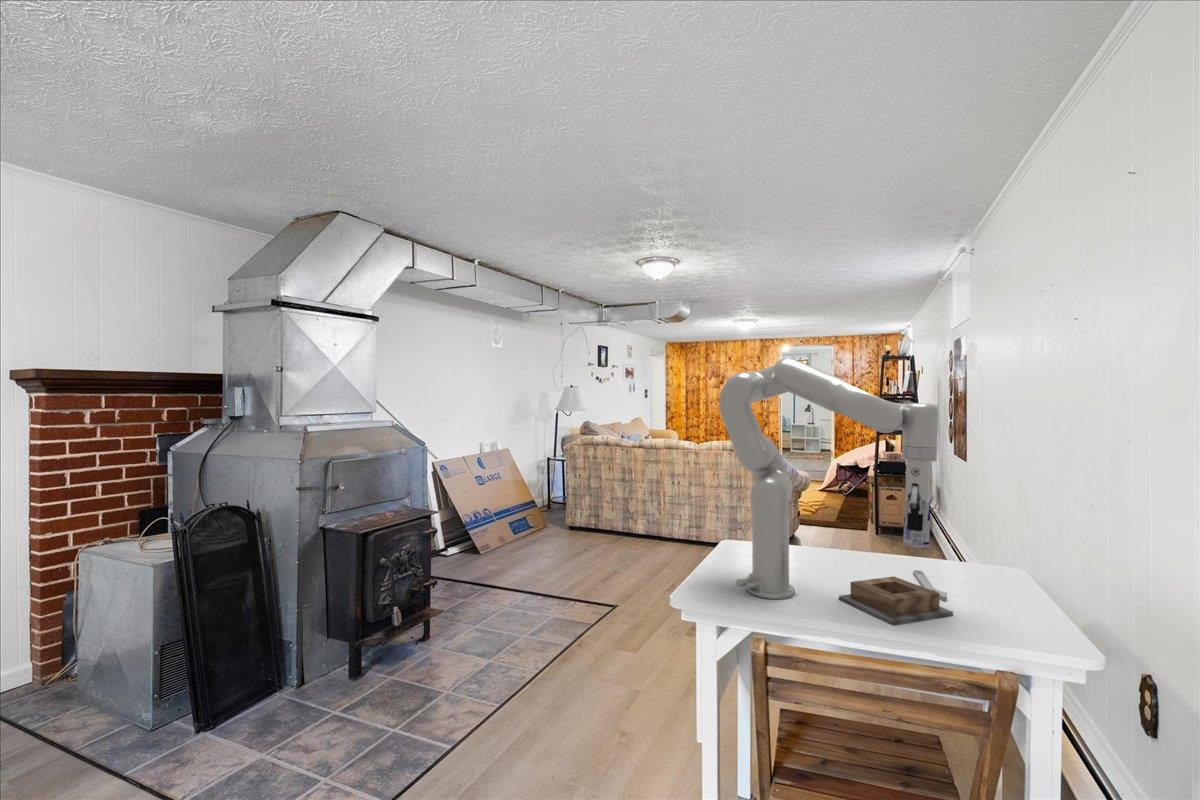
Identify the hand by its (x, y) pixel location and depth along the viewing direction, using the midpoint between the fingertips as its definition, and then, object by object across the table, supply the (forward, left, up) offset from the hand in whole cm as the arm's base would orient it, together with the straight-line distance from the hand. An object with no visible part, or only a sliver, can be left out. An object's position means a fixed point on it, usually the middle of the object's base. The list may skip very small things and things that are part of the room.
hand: (916, 527), depth 145 cm
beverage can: (0, 0, -5) cm, 5 cm away
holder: (-3, +4, -21) cm, 21 cm away
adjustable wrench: (+18, +13, -21) cm, 30 cm away
